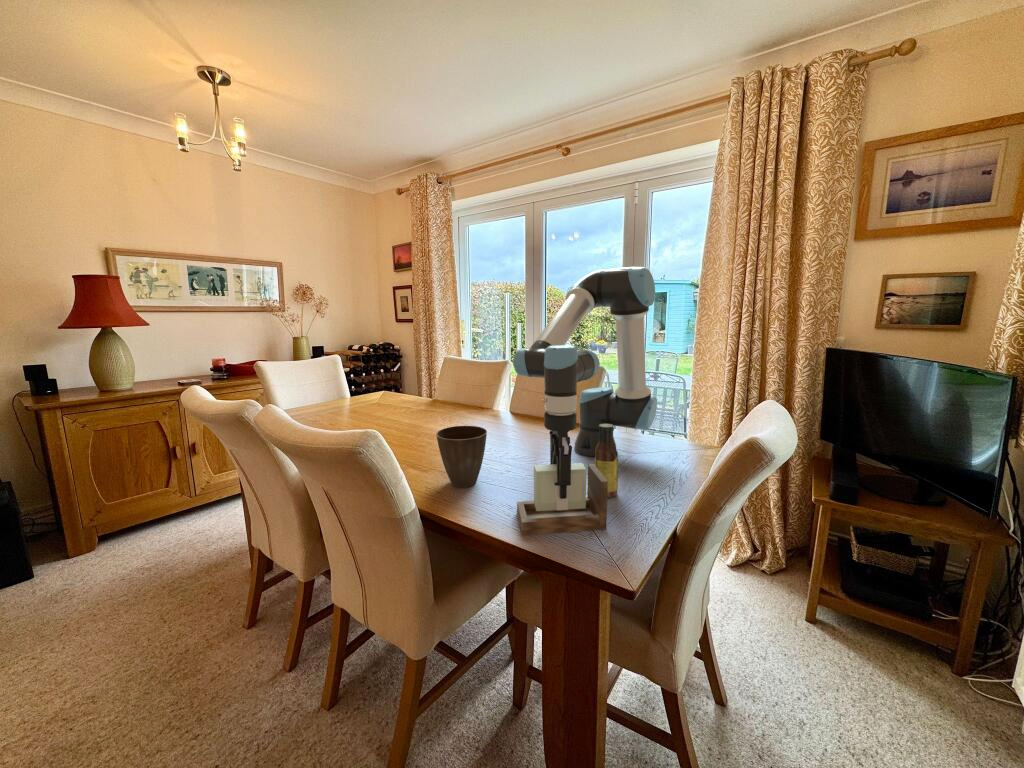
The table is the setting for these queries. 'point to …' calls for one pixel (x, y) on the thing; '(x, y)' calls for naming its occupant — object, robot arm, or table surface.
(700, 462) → the table surface
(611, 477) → the sauce bottle
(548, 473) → the cream rectangular block
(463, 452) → the plant pot
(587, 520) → the wooden l-shaped stand
